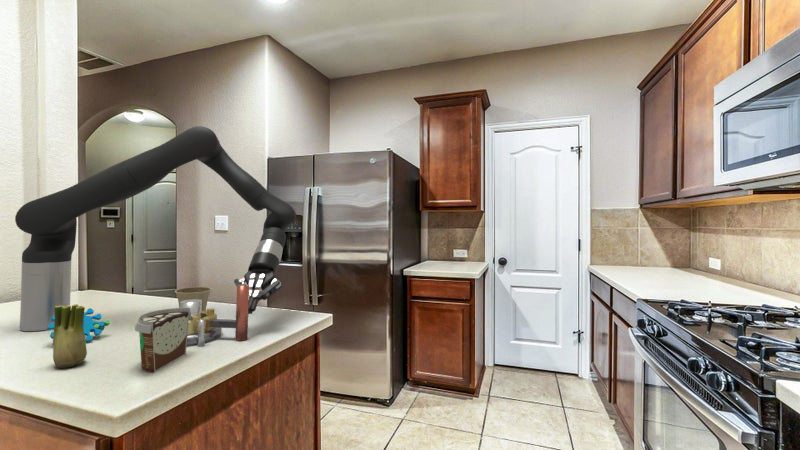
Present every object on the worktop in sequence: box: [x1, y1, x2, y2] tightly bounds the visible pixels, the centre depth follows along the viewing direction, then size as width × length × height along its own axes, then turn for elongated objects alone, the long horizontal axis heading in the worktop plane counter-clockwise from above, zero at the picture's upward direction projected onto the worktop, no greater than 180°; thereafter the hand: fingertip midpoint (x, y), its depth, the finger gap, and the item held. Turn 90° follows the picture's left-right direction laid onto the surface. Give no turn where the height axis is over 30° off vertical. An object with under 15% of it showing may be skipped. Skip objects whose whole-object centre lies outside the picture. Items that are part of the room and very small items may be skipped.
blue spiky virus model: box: [46, 307, 111, 343], centre depth 84 cm, size 11×6×10 cm
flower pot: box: [174, 286, 212, 311], centre depth 104 cm, size 9×9×9 cm
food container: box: [134, 307, 191, 374], centre depth 72 cm, size 12×6×10 cm, turn 178°
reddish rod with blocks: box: [188, 284, 249, 341], centre depth 88 cm, size 20×11×13 cm, turn 89°
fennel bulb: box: [52, 303, 88, 369], centre depth 70 cm, size 6×5×12 cm
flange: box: [180, 299, 223, 348], centre depth 87 cm, size 16×14×9 cm
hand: (247, 312), depth 89 cm, fingers closed
